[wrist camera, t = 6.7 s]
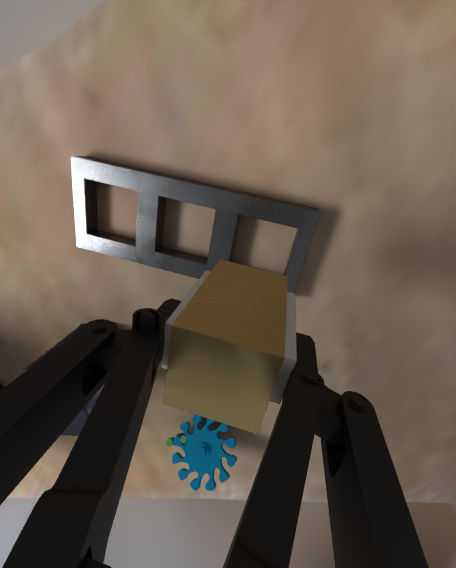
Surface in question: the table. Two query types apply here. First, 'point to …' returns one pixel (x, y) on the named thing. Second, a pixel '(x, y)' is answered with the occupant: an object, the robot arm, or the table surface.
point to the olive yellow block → (229, 346)
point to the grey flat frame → (152, 213)
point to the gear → (202, 452)
